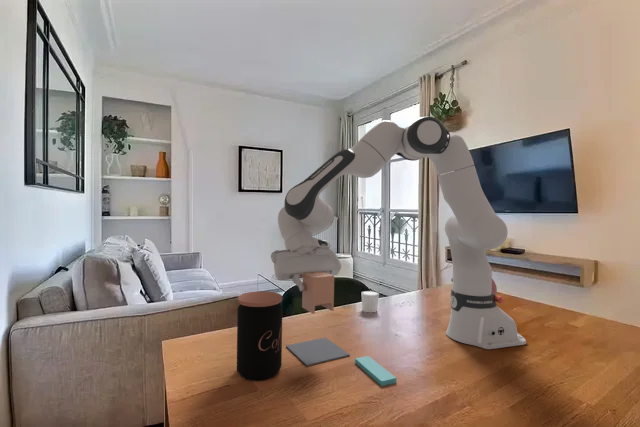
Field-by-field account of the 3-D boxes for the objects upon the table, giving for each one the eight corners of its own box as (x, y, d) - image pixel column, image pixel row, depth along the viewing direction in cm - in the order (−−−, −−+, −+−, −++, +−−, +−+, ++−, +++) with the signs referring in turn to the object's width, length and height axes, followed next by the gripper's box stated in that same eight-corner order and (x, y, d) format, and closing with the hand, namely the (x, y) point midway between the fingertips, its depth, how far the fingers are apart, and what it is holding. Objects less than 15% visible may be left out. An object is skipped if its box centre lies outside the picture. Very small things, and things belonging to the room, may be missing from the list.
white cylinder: (378, 314, 124) (378, 295, 124) (360, 312, 126) (360, 294, 125) (378, 308, 131) (379, 291, 131) (361, 307, 132) (361, 290, 132)
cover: (321, 304, 95) (322, 271, 95) (333, 310, 89) (334, 275, 89) (302, 307, 92) (302, 273, 92) (312, 313, 86) (313, 277, 86)
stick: (368, 361, 86) (368, 355, 86) (396, 384, 75) (396, 377, 75) (355, 364, 85) (355, 358, 84) (381, 388, 74) (381, 381, 73)
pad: (325, 338, 100) (325, 337, 100) (349, 355, 88) (349, 354, 88) (286, 346, 93) (286, 345, 93) (306, 366, 82) (306, 364, 82)
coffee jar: (260, 387, 72) (261, 305, 72) (226, 373, 78) (227, 298, 77) (290, 368, 81) (291, 295, 81) (257, 357, 87) (258, 289, 87)
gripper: (272, 244, 93) (285, 286, 84) (334, 241, 103) (351, 279, 94) (266, 257, 97) (278, 299, 88) (326, 254, 107) (342, 291, 98)
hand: (316, 288), depth 91 cm, fingers closed on cover, 6 cm apart
